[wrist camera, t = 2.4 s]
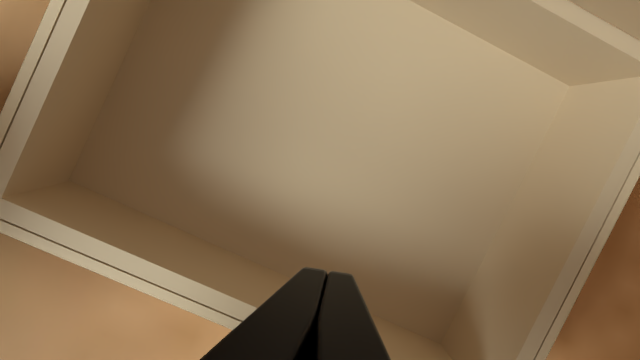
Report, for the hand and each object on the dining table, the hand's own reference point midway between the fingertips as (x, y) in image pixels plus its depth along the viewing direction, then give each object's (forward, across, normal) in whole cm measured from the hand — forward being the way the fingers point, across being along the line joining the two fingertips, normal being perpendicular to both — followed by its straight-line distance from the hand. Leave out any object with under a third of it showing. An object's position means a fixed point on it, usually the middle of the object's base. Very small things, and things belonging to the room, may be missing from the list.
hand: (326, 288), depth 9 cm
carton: (+11, -1, -3) cm, 11 cm away
